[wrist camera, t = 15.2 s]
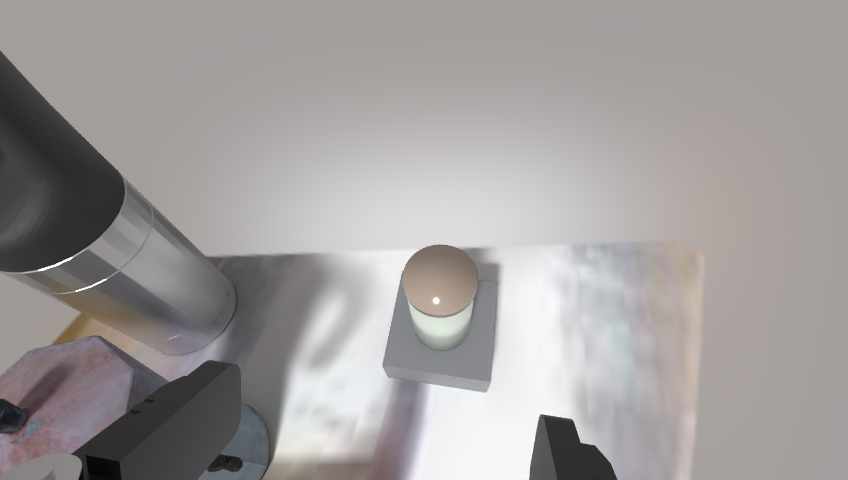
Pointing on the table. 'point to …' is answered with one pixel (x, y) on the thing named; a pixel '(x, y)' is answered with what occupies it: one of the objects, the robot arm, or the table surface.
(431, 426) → the table surface
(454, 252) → the canister
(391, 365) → the stand
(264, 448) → the moka pot
